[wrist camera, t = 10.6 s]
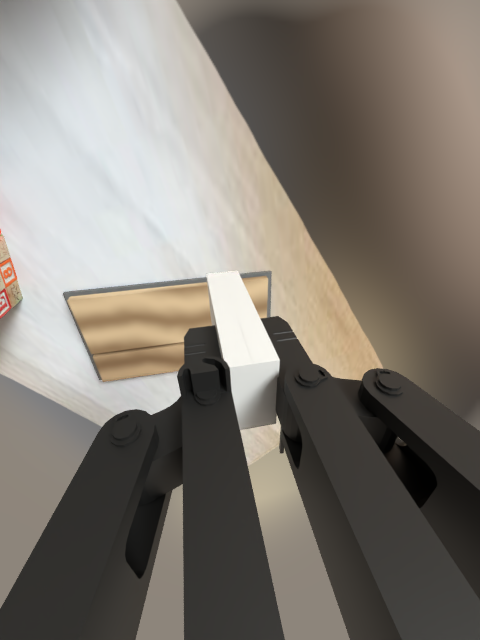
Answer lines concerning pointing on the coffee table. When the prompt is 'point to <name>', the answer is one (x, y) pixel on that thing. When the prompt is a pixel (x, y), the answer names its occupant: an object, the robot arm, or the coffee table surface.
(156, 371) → the laid plank
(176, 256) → the coffee table surface
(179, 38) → the coffee table surface
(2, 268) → the stack of blocks
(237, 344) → the robot arm
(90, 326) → the board
